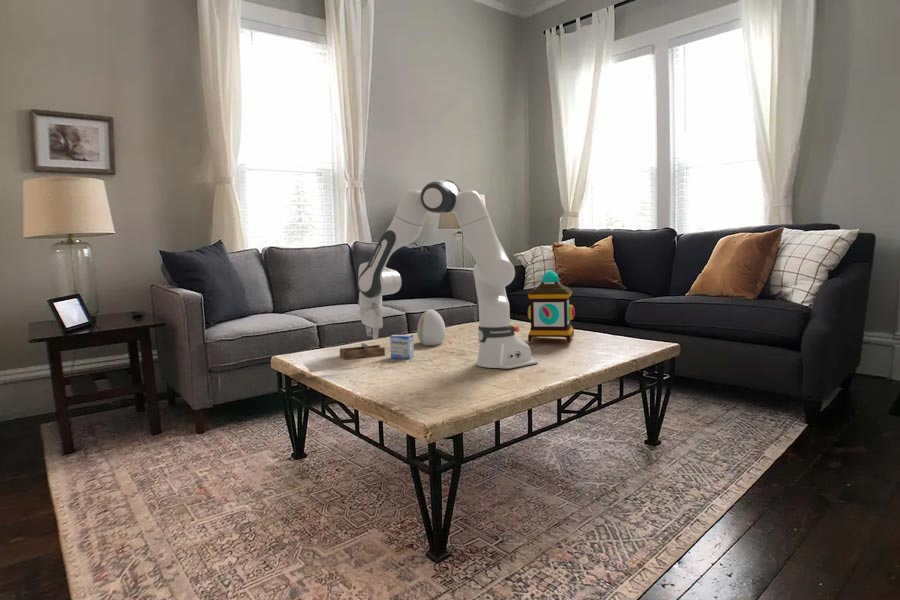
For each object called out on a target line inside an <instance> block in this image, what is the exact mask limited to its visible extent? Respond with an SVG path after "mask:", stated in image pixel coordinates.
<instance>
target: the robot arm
mask: <svg viewBox="0 0 900 600" xmlns="http://www.w3.org/2000/svg"><path fill="white" fill-rule="evenodd" d="M395 211H396V212H395V214H394V216H393V218H392V221H391V223H390V224H389V226H388V227H387V229H386V230H385V232H384V233H383V234H382V235H381V236H380V238H379V240H378V242H377V243H376V246H375V249H374V250H373V253H372V254H371V257H370V258H369V260H368V261H364V262H361V264H360V265H359V268H358V277H357V279H358V280H357V288H358V290H359V294H358V297H359V298H358V301H357V304H358V307H359V312H360V313H359V315H360V320H361V323H362V324H363V325H365V331H366V336H367V337H372V339H373V340H378V339H379V332H380V329H382V328H383V327H384V321H383V320H384V319H383V312H382V311H383V310H382V309H381V307H383V296H387V295H393V294H394V295H395V294H396V293H398V292H399V291H400V290H401V287H402V284H403V282H402V281H403V280H402V279H403V278H402V276H401V274H400V273H399V272H398V271H397V270H395V269H392V268H388V267H387V264H388V262H389V260H390V257H392V254H393V253H394V252H396V251H397V250H399V249H400V248H402V247H405V246H407V245H410V244H412V243H414V242H415V241H416V240H417V239H418V238H419V237H420V234H421V232H422V230H423V227H424V225H425V221H426V219H427V217H428V214H429V213H433V214H441V213H451V212H452V214H454V216H455V217H456V221H457V222H458V225H459V228H460V230H461V234H462V237H463V239H464V241H465V244H466V248H468V250H469V252H470V253H471V255H472V257H473V259H474V260H475V262H476V263H475V264H474V266H473V269H472V273H473V278H474V284H475V285H474V286H475V292H476V296H477V302H478V317H479V318H478V320H479V323H478V325H479V326H478V327H477V329H478V335H477V336H478V344H479V345H478V353H477V354H478V355H477V360H476V363H475V364H476V365H477V366H478V367H481V368H482V367H483V368H490V369H491V368H492V369H494V368H495V369H504V370H505V369H506V370H507V369H508V370H509V369H513V368H519V367H523V366H530V365H533V364H538V363H539V360H538V359H537V358H535V357H533V356H532V351H531V348H530V345H529V343H527V342H525V341H524V340H522V339H520V338H519V337H518V336H517V335H516V334H515V332H516V333H519V332H520V331H521V329H520V327H519V326H517V325H515V326H513V325H511V318H510V317H511V316H510V315H511V313H510V311H511V308H510V307H511V306H510V302H509V299H508V296H507V290H506V287H507V286H509V285H510V284H511V283H512V282H513V281H514V279H515V276H516V270H515V267H514V264H513V263H512V262H511V261H510V259H509V256H508V254H506V251H505V249H504V247H503V246H502V244H501V242H500V240H499V238H498V235H497V233H496V231H495V228H494V225H493V222H492V220H491V217H490V214H489V212H488V209H487V207H486V205H485V203H484V200H483V199H482V197H481V196H480V194H479V192H477V191H476V190H473V189H466V190H463V191H461V189H460V187H459V186H458V184H457V183H455V181H454V182H453V181H451V180H449V179H448V180H447V179H446V180H444V179H439V180H435V181H431V182H429V183H427V184H426V185H425V186H424V187H423V188H422V190H420V189H414V188H413V189H409V190H407V191H406V192H405V193H404V195H403V196H402V198H401V200H400V201H399V204H398V206H397V209H396V210H395ZM476 365H475V366H476Z"/></svg>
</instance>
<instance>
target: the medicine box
mask: <svg viewBox="0 0 900 600" xmlns="http://www.w3.org/2000/svg"><path fill="white" fill-rule="evenodd" d="M389 344H390V358H391V359H393V360H411V359H413V358H414V357H415V350H414V349H415V348H414V347H415V346H414V335H413V334H392V335H390V336H389Z"/></svg>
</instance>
